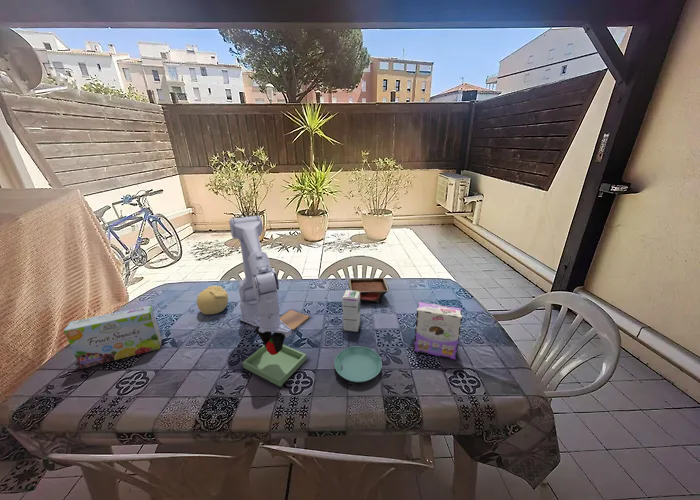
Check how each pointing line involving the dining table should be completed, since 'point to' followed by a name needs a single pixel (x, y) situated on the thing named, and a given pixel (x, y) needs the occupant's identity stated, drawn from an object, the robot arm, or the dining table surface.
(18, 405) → the dining table surface
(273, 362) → the tray
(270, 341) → the strawberry
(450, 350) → the candy box
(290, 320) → the board
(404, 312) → the dining table surface
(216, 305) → the sculpture
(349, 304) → the syrup box
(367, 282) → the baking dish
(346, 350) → the saucer
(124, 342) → the snack box
